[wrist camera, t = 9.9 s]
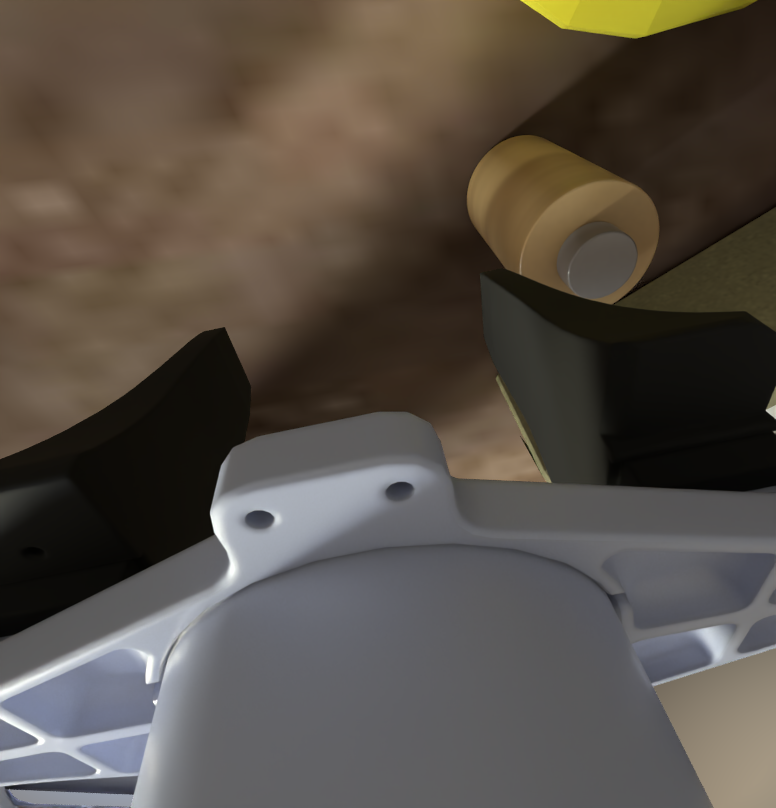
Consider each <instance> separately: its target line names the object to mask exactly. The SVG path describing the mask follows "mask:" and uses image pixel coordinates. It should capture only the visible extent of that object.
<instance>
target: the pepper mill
mask: <svg viewBox="0 0 776 808" xmlns="http://www.w3.org/2000/svg"><path fill="white" fill-rule="evenodd" d="M467 208H468V213H469V216H470V219H471V221H472V223H473V225H474V226H475V228H476V229H477V231H478V232H479V233H480V235H481V236H482V237H483V239H484V240H485V241H486V243H487V244H488V245H489V247H490V248H491V249H492V251H493V252H494V254H495V255H496V256H497V258H498V259H499V260H500V262H501V263H502V264H503V266H504V267H505V268H506V269H507V270H510V271H512V272H515V273H517V274H520V275H522V276H525V277H527V278H529V279H532V280H534V281H537V282H539V283H542V284H544V285H547V286H549V287H552V288H554V289H557V290H560V291H563V292H566V293H569V294H572V295H575V296H578V297H582V298H585V299H589V300H593V301H598V302H602V303H607V304H611V305H612V304H613V303H615V302H617V301H618V300H619V299H621V298H622V297H623V296H625V295H626V294H627V293H628V292H629V291H630V290H631V289H632V288H633V287H634V286H635V285H636V284H637V283H638V281H639V280H640V279H641V277H642V276H643V275H644V273H645V272H646V270H647V268H648V267H649V265H650V263H651V261H652V259H653V257H654V254H655V251H656V248H657V244H658V240H659V218H658V213H657V210H656V208H655V205H654V203H653V201H652V200H651V198H650V197H649V196H648V195H647V193H646V192H645V191H643V190H642V189H641V188H640V187H638V186H636V185H634V184H633V183H631V182H629V181H627V180H625V179H623V178H621V177H619V176H617V175H615V174H613V173H611V172H609V171H607V170H605V169H603V168H601V167H599V166H597V165H595V164H593V163H591V162H589V161H587V160H585V159H583V158H582V157H580V156H578V155H576V154H574V153H572V152H570V151H568V150H566V149H564V148H562V147H560V146H558V145H556V144H554V143H552V142H550V141H548V140H546V139H544V138H541V137H538V136H533V135H521V136H516V137H512V138H509V139H507V140H505V141H503V142H501V143H499V144H498V145H496V146H495V147H494V148H492V149H491V150H490V151H489V152H488V153H487V154H486V155H485V156H484V157H483V158H482V159H481V161H480V162H479V164H478V165H477V167H476V168H475V170H474V172H473V174H472V177H471V180H470V182H469V186H468V192H467Z"/></svg>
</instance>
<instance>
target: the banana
mask: <svg viewBox="0 0 776 808" xmlns="http://www.w3.org/2000/svg"><path fill="white" fill-rule="evenodd" d="M521 1H522V2H524V3H525V4H527V5H528V6H530V7H531V8H533V9H534V10H536V11H537V12H538V13H540V14H541V15H543V16H544V17H546V18H547V19H549V20H550V21H552V22H553V23H555V24H556V25H557V26H559V27H560V28H563V29H570V30H577V31H585V32H592V33H599V34H607V35H614V36H621V37H629V38H640V37H644V36H648V35H651V34H655V33H658V32H662V31H665V30H669V29H672V28H676V27H679V26H683V25H686V24H690V23H693V22H697V21H700V20H704V19H707V18H711V17H714V16H718V15H721V14H725V13H728V12H732V11H735V10H739V9H742V8H745V7H746V6H748V5H750V4H752V3H754V2H755V1H757V0H521Z"/></svg>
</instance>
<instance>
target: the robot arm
mask: <svg viewBox="0 0 776 808" xmlns="http://www.w3.org/2000/svg"><path fill="white" fill-rule="evenodd" d="M480 281H481V297H482V314H483V331H484V339H485V342H486V344H487V347H488V350H489V353H490V355H491V358H492V360H493V363H494V365H495V367H496V369H497V370H498V372H499V374H500V376H501V378H502V379H503V381H504V383H505V385H506V386H507V388H508V390H509V392H510V393H511V395H512V397H513V399H514V400H515V402H516V404H517V406H518V407H519V409H520V411H521V413H522V414H523V416H524V418H525V420H526V422H527V424H528V426H529V428H530V430H531V433H532V435H533V437H534V440H535V442H536V445H537V447H538V449H539V452H540V454H541V457H542V459H543V462H544V465H545V467H546V470H547V472H548V475H549V477H550V480H551V483H544V482H522V481H501V480H479V479H458V478H455V477H452V476H451V475H450V473H449V470H448V466H447V463H446V459H445V456H444V452H443V448H442V445H441V441H440V439H439V438H438V436H437V434H436V432H435V431H434V429H433V427H432V425H431V423H429V422H427V421H425V420H423V419H421V418H419V417H417V416H415V415H413V414H411V413H409V412H375V413H370V414H365V415H360V416H355V417H350V418H345V419H340V420H336V421H331V422H326V423H321V424H316V425H311V426H306V427H301V428H297V429H292V430H287V431H282V432H277V433H272V434H267V435H262V436H258V437H255V438H253V439H251V440H249V441H246V442H244V441H245V436H246V431H247V426H248V421H249V416H250V402H251V385H250V383H249V380H248V378H247V376H246V374H245V372H244V369H243V367H242V365H241V363H240V360H239V358H238V356H237V354H236V351H235V349H234V347H233V345H232V342H231V340H230V338H229V336H228V334H227V331H226V329H225V327H223V328H218V329H214V330H209V331H204V332H202V333H200V334H199V335H197V336H196V337H195V338H193V339H192V340H191V341H190V342H188V343H187V344H186V345H185V346H184V347H183V348H181V349H180V350H179V351H178V352H177V353H176V354H174V355H173V356H172V357H171V358H170V359H169V360H168V361H166V362H165V363H164V364H163V365H162V366H161V367H159V368H158V369H157V370H156V371H155V372H153V373H152V374H151V375H150V376H148V377H147V378H146V379H145V380H143V381H142V382H141V383H140V384H138V385H137V386H136V387H135V388H133V389H132V390H131V391H129V392H128V393H126V394H125V395H124V396H122V397H121V398H119V399H118V400H116V401H115V402H113V403H112V404H110V405H109V406H107V407H106V408H104V409H102V410H101V411H99V412H98V413H96V414H94V415H92V416H90V417H89V418H87V419H85V420H83V421H82V422H80V423H78V424H76V425H74V426H73V427H71V428H69V429H67V430H65V431H63V432H61V433H59V434H57V435H55V436H53V437H51V438H49V439H47V440H45V441H43V442H40V443H38V444H36V445H34V446H31V447H29V448H27V449H25V450H22V451H20V452H18V453H15V454H13V455H10V456H7V457H5V458H2V459H0V808H713V806H712V804H711V802H710V800H709V798H708V796H707V794H706V792H705V790H704V788H703V786H702V784H701V782H700V780H699V778H698V776H697V774H696V772H695V770H694V768H693V766H692V764H691V762H690V760H689V758H688V756H687V754H686V752H685V750H684V748H683V746H682V744H681V742H680V740H679V738H678V736H677V734H676V732H675V730H674V728H673V726H672V724H671V722H670V720H669V718H668V716H667V714H666V712H665V710H664V708H663V706H662V704H661V702H660V700H659V698H658V696H657V694H656V692H655V690H654V688H653V686H656V685H659V684H662V683H665V682H668V681H672V680H675V679H678V678H681V677H685V676H687V675H691V674H694V673H697V672H701V671H704V670H707V669H710V668H713V667H717V666H720V665H722V664H726V663H729V662H732V661H736V660H739V659H742V658H745V657H748V656H752V655H755V654H758V653H761V652H764V651H768V650H771V649H774V648H776V434H775V433H774V432H773V431H776V419H775V418H774V417H773V416H771V415H770V414H769V413H768V412H767V411H766V409H767V406H768V404H769V401H770V399H771V397H772V394H773V392H774V389H775V387H776V332H775V331H774V330H773V329H771V328H770V327H768V326H767V325H765V324H764V323H762V322H761V321H759V320H758V319H756V318H755V317H754V316H752V315H751V314H749V313H748V312H746V311H732V312H671V311H656V310H645V309H638V308H630V307H623V306H617V305H611V304H607V303H602V302H598V301H593V300H589V299H585V298H582V297H578V296H575V295H572V294H569V293H566V292H563V291H560V290H557V289H554V288H552V287H549V286H547V285H544V284H542V283H539V282H537V281H534V280H532V279H529V278H527V277H525V276H522V275H520V274H517V273H515V272H512V271H510V270H507V269H503V268H501V269H497V270H492V271H487V272H483V273H480ZM9 789H14V790H15V789H16V790H37V791H61V792H86V793H108V794H132V795H134V796H133V800H132V804H131V807H118V806H117V807H116V806H115V807H114V806H87V805H56V804H33V803H28V802H25V801H20V800H18V799H17V798H15V797H14V796H13V795H12V793H11V792H10V790H9Z"/></svg>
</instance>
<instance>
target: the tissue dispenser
mask: <svg viewBox="0 0 776 808" xmlns="http://www.w3.org/2000/svg"><path fill="white" fill-rule="evenodd" d="M614 305H617V306H623V307H630V308H638V309H645V310H656V311H671V312H732V311H746V312H748V313H749V314H751V315H752V316H754V317H755V318H756V319H758V320H759V321H761V322H762V323H764V324H765V325H767V326H768V327H770V328H771V329H773V330H774V331H775V332H776V207H775V208H774V209H772V210H770V211H769V212H767V213H765V214H764V215H762V216H760V217H759V218H757V219H755V220H754V221H752V222H750V223H749V224H747V225H745V226H744V227H742V228H740V229H739V230H737V231H735V232H734V233H732V234H730V235H729V236H727V237H725V238H724V239H722V240H721V241H719V242H717V243H716V244H714V245H712V246H711V247H709V248H707V249H706V250H704V251H702V252H701V253H699V254H697V255H696V256H694V257H692V258H691V259H689V260H687V261H686V262H684V263H682V264H681V265H679V266H677V267H676V268H674V269H672V270H671V271H669V272H667V273H666V274H664V275H662V276H661V277H659V278H657V279H656V280H654V281H652V282H651V283H649V284H647V285H646V286H644V287H642V288H641V289H639V290H637V291H636V292H634V293H632V294H631V295H629V296H627V297H626V298H624V299H622V300H621V301H619V302H618V303H616V304H614ZM496 381H497V383H498V385H499V387H500V389H501V391H502V393H503V395H504V397H505V399H506V401H507V403H508V405H509V408H510V410H511V412H512V414H513V416H514V418H515V420H516V422H517V424H518V426H519V428H520V430H521V433H522V435H523V437H524V439H525V441H526V443H527V444H526V443H525V441H524V440H523V439H522V438H521V439H522V440H523V442H524V444H525V446H526V447H527V449H528V451H529V453H530V455H531V456H532V458H533V460H534V462H535V464H536V465H537V467H538V469H539V471H540V473H541V474H542V476H543V477H544V479H545V480H546V481H547V482H548V483H551V480H550V477H549V475H548V472H547V470H546V467H545V465H544V462H543V459H542V457H541V454H540V452H539V449H538V447H537V445H536V442H535V440H534V437H533V435H532V433H531V430H530V428H529V426H528V424H527V422H526V420H525V418H524V416H523V414H522V413H521V411H520V409H519V407H518V406H517V404H516V402H515V400H514V399H513V397H512V395H511V393H510V392H509V390H508V388H507V386H506V385H505V383H504V381H503V379H502V378H501V376H500V374H498V375H497V377H496ZM766 411H767V412H768V413H769V414H770V415H771V416H773V417H774V418H775V419H776V387H775V389H774V392H773V394H772V397H771V399H770V401H769V404H768V406H767V409H766ZM773 432H774V433H775V434H776V431H773ZM520 437H521V436H520Z"/></svg>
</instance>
